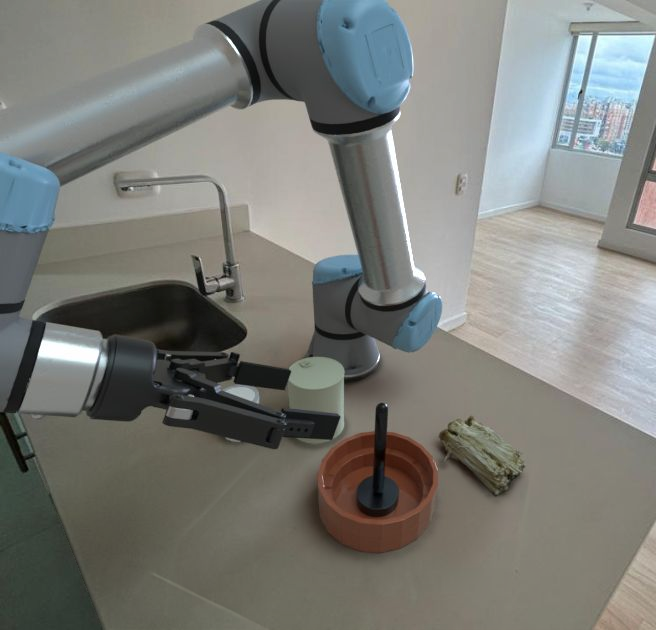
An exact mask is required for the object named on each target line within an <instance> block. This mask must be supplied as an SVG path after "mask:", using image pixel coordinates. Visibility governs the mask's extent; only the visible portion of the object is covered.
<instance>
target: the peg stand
mask: <svg viewBox="0 0 656 630" xmlns="http://www.w3.org/2000/svg"><path fill="white" fill-rule="evenodd" d="M374 413H375V414H374V415H375V416H374V431H375V436H374V460H373V476H370V477H368V478H366V479H364V480H363V481H362V482H361V483H360V484H359V486H358V488H357V496H356V502H357V506H358V508H359V509H360V510H361V511H362V512H363V513H364V514H366V515H368V516H371V517H383V516H386V515H388V514H390V513H391V512H393V511H394V510H395V508H396V507H397V504H398V499H399V489H398V486H397V484H396V483H395V482H394V481H393V480H392V479H390V478H389V477H386V476H384V475H385V457H386V440H387V432H388V419H389V418H388V417H389V406H388V404H387V403H385V402H378V403H377V404H376V406H375V411H374Z"/></svg>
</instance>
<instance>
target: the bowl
mask: <svg viewBox="0 0 656 630" xmlns="http://www.w3.org/2000/svg"><path fill="white" fill-rule="evenodd" d="M374 436H375V430H373V431H372V430H371V431H364V432H359V433H356V434H353V435H351V436H347V437H345V438H344V439H342V440H341V441H339V442H337V444H335V445H333V446H332V447H331V448H330V449H329V451H328V452H327V453H326V454H325V455H324V457H323V458H322V459H321V461H320V465H319V468H318V472H317V497H318V498H317V503H318V512H319V518H320V520H321V522H322V524H323V526H324V528H325V530H326V532H327V533H328V534H330V536H332V537H333V538H334V539H335V540H336V541H337V542H338V543H340V545H343V546H345V547H348V548H351V549H354V550H355V551H358V552H364V553H373V554H374V553H375V554H382V553H386V552H392V551H396V550H400V549H402V548H404V547H405V546H407V545H410V544H411V543H412V542H415V541H416V540H417V539H418V538H420V536H421V535H422V534H423V533H424V532H425V531H426V530H427V529H428V528H429V526H430V523H431V521H432V520H433V519H432V518H433V517H434V514H435V509H436V502H437V496H438V486H439V470H438V467H437V464H436V462H435V460H434V457H433V456H432V455H431V453H430V452H429V450H427V448H426V447H425V446H424V445H423V444H421V443H420V442H418V441H416V440H414V439H413V438H411V437H409V436H406V435H403V434H400V433H397V432H394V431H387V440H386V457H385V475H384V476H386V477H389V478H390V479H392V480H393V481H394V482H395V483H396V484H397V486H398V489H399V499H398V504H397V507H396V508H395V510H394V511H393V512H391V513H390V514H388V515H386V516H383V517H371V516H368V515H366V514H364V513H363V512H362V511H361V510H360V509H359V508H358V506H357V502H356V496H357V488H358V486H359V484H360V483H361V482H362V481H363V480H364V479H366V478H368V477H370V476H373V460H374Z"/></svg>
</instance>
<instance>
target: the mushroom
mask: <svg viewBox="0 0 656 630" xmlns="http://www.w3.org/2000/svg"><path fill="white" fill-rule="evenodd" d="M438 439H439V440H440V442H441V443H442V445H443V448H444V450H445V451H446V456H445V457H444V459H443V462H444V463H445V462H446V461H447V459H449V458H450V459H453V460H455V461H458V462H461V464H463V465H464V466H466V468H467V469H469V471H471V473H472V474H473V475H474V476H476V478H477V479H479V481H480V482H482V483H483V485H484V486H485V487H486V489H488V490H489V492H492V493H494V495H495V496H499V494H501V493H504V492H507V491H508V490H509V485H510V484H511V482H512V481H513V480H515V479H516V478H517V477H518V476H520V475H522V473H523V471H524V469H525V468H526V467H527V464H525V462H526V461H525V459H524V458H522V455H523V454H524V453H523V452H521V451H520V450H519V449H518V448H517V447H516V448H514V446H513V445H511V444H509V443H507V442H506V441H505V440H504V439H503V438H502V437H501V436H500V435H499V434H498V433H496V432H495V431H494V430H493V429H492V428H491V427H489V426H487V425H486V426H485V425H483V423H482V422H480V421H479V422H478V420H477V419H476V418H475V417H474V416H473V415H470V416H468V417H467V419H465V420H462V419H461V418H457V419H454V420H452V421H450V422H449V423H448V424H447V428H445V429H443V430H441V431H440V432H439V434H438Z"/></svg>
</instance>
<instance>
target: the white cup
mask: <svg viewBox="0 0 656 630" xmlns="http://www.w3.org/2000/svg"><path fill="white" fill-rule="evenodd" d="M222 390H223V391H225V392H227V393H230V394H233V395H236V396H238V397H241V398H244V399H247V400H249V401H252V402H255V403H258V404H260V391H259V390H258V389H257V387H254V386H247V385H239V384H234V385H231V386H228V387H225V388H223V389H222ZM224 438H225V440H227V441H230V442H233V443H240V442H242V441H238V440H234V439H230V438H226V437H224Z"/></svg>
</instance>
